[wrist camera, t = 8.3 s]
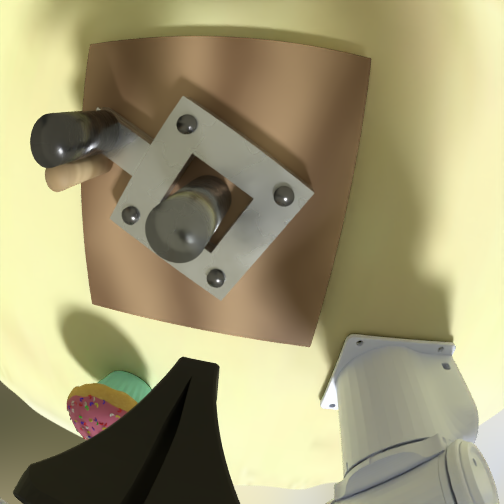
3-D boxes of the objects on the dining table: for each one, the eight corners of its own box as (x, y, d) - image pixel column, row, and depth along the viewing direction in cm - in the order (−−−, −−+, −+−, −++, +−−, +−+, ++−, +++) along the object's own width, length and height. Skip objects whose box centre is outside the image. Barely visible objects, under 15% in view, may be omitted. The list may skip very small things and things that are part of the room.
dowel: (113, 148, 17) (67, 160, 12) (113, 174, 17) (68, 193, 13) (92, 147, 17) (44, 159, 13) (91, 172, 17) (45, 190, 13)
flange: (312, 187, 16) (324, 221, 11) (224, 290, 19) (202, 352, 14) (133, 61, 14) (72, 46, 9) (71, 175, 17) (9, 199, 12)
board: (366, 61, 14) (371, 58, 13) (309, 337, 21) (309, 347, 21) (98, 46, 15) (90, 44, 14) (98, 297, 22) (92, 304, 21)
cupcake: (184, 418, 27) (149, 524, 16) (114, 412, 29) (71, 499, 18) (149, 353, 24) (87, 474, 13) (76, 352, 25) (10, 444, 15)
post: (233, 178, 17) (209, 205, 12) (229, 224, 18) (204, 268, 13) (187, 172, 17) (145, 197, 12) (184, 217, 18) (145, 257, 13)
